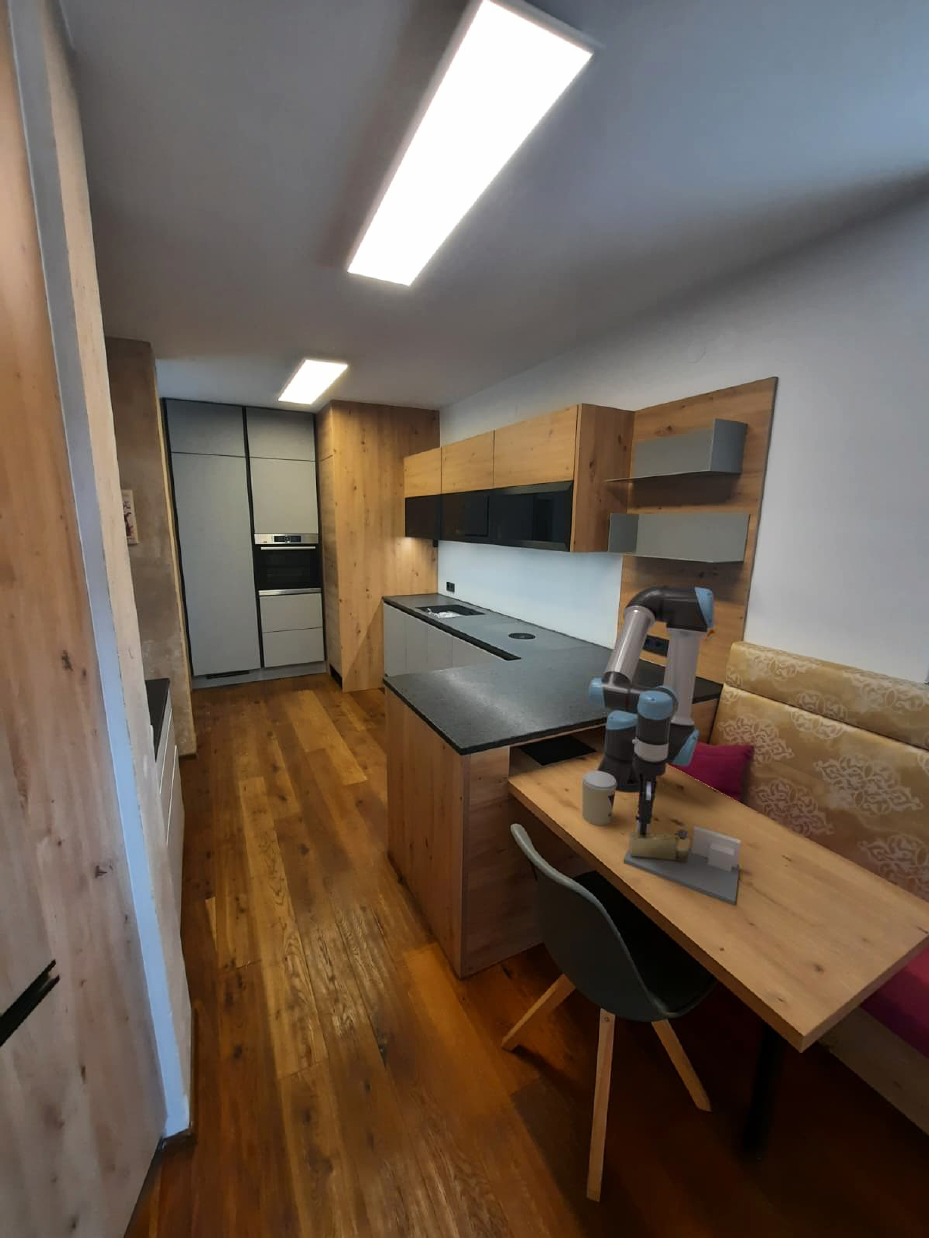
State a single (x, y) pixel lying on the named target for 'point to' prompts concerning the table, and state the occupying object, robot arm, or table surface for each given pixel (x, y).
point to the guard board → (699, 865)
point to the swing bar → (659, 846)
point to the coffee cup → (598, 797)
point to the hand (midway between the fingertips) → (641, 841)
